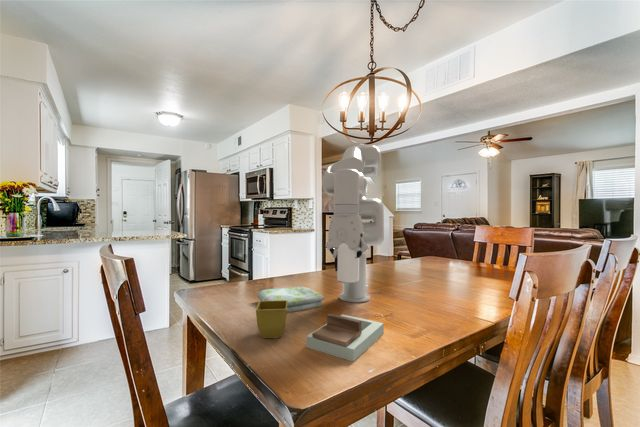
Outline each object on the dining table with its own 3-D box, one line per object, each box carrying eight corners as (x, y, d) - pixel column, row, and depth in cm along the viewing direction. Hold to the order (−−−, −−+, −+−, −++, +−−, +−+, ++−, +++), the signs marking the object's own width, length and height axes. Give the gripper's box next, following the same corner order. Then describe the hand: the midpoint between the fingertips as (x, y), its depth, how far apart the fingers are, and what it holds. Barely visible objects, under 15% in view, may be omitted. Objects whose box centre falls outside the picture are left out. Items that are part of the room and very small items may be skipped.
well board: (342, 323, 97) (342, 314, 97) (383, 333, 90) (383, 323, 90) (306, 347, 81) (306, 336, 81) (353, 361, 73) (353, 349, 73)
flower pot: (259, 329, 93) (259, 300, 92) (287, 328, 93) (287, 299, 93) (255, 342, 84) (255, 310, 84) (287, 341, 85) (287, 309, 84)
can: (357, 284, 86) (358, 242, 86) (335, 282, 88) (335, 241, 88) (360, 279, 92) (360, 240, 92) (339, 277, 94) (339, 239, 94)
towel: (325, 306, 116) (325, 293, 116) (274, 316, 105) (274, 302, 105) (303, 295, 131) (303, 283, 131) (256, 302, 120) (256, 290, 120)
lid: (329, 325, 87) (329, 313, 87) (361, 333, 82) (361, 320, 81) (312, 337, 79) (312, 323, 79) (345, 346, 74) (345, 331, 74)
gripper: (316, 210, 92) (316, 270, 92) (366, 210, 82) (366, 277, 83) (329, 210, 98) (329, 266, 98) (377, 210, 89) (377, 272, 89)
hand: (346, 270), depth 90 cm, fingers closed on can, 4 cm apart
